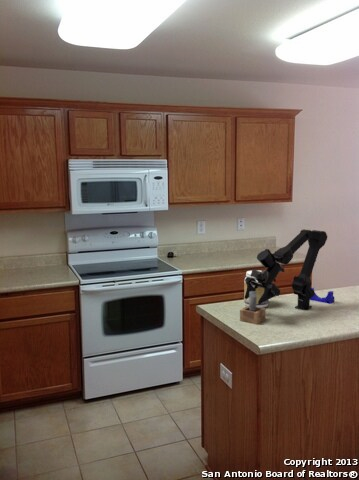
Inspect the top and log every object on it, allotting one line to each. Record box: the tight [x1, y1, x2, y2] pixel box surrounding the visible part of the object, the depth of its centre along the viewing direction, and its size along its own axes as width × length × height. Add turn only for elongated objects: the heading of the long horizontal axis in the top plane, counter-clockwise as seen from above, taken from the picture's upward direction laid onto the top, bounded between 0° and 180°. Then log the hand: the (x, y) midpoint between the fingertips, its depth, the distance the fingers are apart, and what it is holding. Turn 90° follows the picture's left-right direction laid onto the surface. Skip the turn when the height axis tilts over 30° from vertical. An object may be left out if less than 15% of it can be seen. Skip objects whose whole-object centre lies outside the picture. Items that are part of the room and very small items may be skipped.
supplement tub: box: [243, 269, 270, 308], centre depth 210 cm, size 12×12×17 cm
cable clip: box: [310, 287, 335, 305], centre depth 216 cm, size 12×4×6 cm, turn 46°
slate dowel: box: [249, 291, 257, 312], centre depth 188 cm, size 3×3×13 cm
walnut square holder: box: [239, 306, 266, 325], centre depth 189 cm, size 8×8×5 cm
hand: (251, 301), depth 187 cm, fingers open, 9 cm apart
